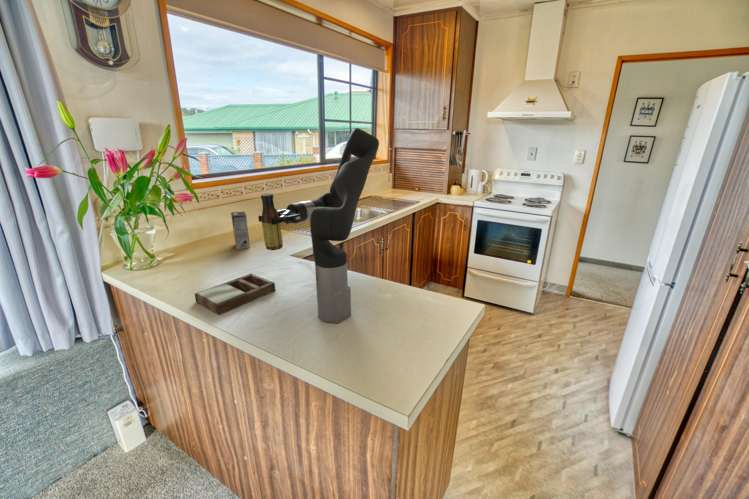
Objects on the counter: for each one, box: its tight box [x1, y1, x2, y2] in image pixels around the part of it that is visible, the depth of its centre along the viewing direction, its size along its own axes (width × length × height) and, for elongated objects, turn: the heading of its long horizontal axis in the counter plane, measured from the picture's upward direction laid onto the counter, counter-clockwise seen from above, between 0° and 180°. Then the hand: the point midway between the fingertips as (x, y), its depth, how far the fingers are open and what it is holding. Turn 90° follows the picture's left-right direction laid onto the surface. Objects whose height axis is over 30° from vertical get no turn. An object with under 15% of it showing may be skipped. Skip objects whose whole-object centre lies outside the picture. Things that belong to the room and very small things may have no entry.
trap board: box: [194, 273, 276, 316], centre depth 116 cm, size 14×21×3 cm, turn 143°
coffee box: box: [230, 211, 251, 250], centre depth 165 cm, size 9×6×16 cm
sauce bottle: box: [260, 193, 284, 251], centre depth 121 cm, size 6×6×20 cm
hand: (265, 220), depth 119 cm, fingers closed on sauce bottle, 6 cm apart
